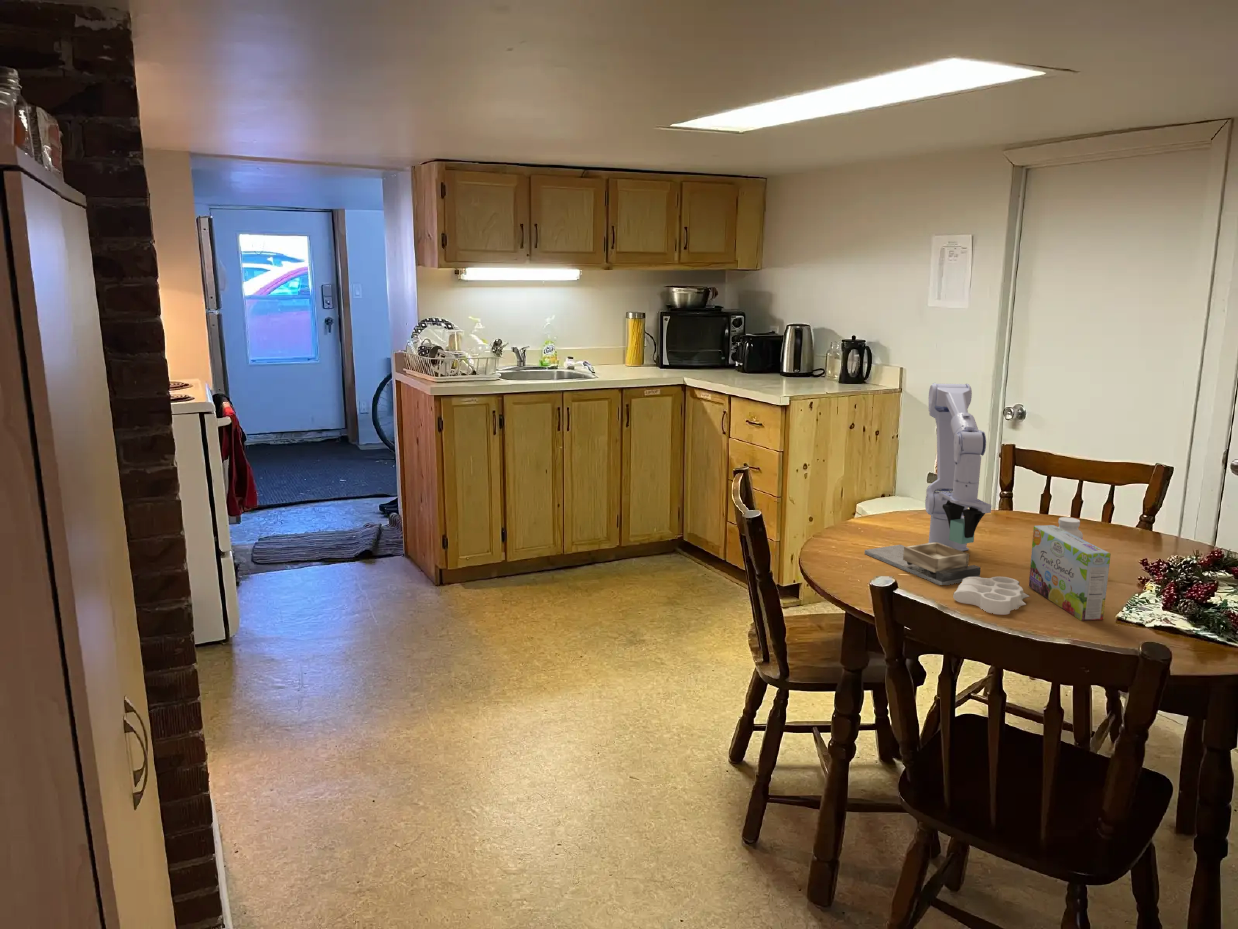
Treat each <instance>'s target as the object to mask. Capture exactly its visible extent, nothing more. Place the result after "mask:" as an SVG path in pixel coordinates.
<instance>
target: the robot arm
mask: <svg viewBox="0 0 1238 929" xmlns="http://www.w3.org/2000/svg"><path fill="white" fill-rule="evenodd" d="M928 390H929V391H928V412H929V416H930V417H932V418H933V419H934V420H935V426H936V463H937V464H936V465H937V467H936V468H937V470H936V471H937V476H936V477H937V479H936V480H934V481H933V482H932V483H930V484H928V486H927V488H926V490H925V491H926V492H925V500H924V501H925V502H924V503H925V504H924V505H925V511H926V513H927V514H928V515H930V523H929V534H928V535H929V536H928V542H927V543H934V542H938V543H941V544H943V545H946V546H949V547H952V548H954V549H957V550H960V551H963V552H965V551H969V547H967V544H968V543H966V544H959V543H957V542H954V541H951V540H949V534H950V522H951V520H956V519H964V522H965V528H964V535H965V538H971V537H973V535H974V536H975V533H976V530H977V528H978V525H979V523H980V522H981V520H982V519H983V517H984V516H985V514H990V513H992V504H990V503H987V502H985V501H983V500H981V499H979V498H978V495H979V485H980V475H981V465H982V464H981V463H982V457H983V456H984V455H985V453H986V450H987V437H986V436H987V435H986V432H985V431H983V430H981V429H979V427H978V425H977V422H976V419H975V417H974V415H973V414H971V413H969V406H970V405H971V402H972V397H973V392H972V387H971V386H970V384H969V383H936V382H933V383H932V384H931V385H930V387H929V389H928ZM974 532H975V533H974ZM927 543H925V544H927Z"/></svg>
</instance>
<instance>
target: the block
mask: <svg viewBox="0 0 1238 929" xmlns="http://www.w3.org/2000/svg"><path fill="white" fill-rule="evenodd" d="M964 528H965V522H964V519H956V520H951V522H950V534H949V540H951V541H954V542H957V543H959V544H966V543H967V544H972V543H975V533H976V531H975V532H974V535H973V537H971V538H965V535H964Z"/></svg>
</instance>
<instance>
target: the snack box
mask: <svg viewBox="0 0 1238 929" xmlns="http://www.w3.org/2000/svg"><path fill="white" fill-rule="evenodd" d="M1058 527H1059V526H1057V525H1052V524H1049V525H1034V526H1033V532H1032V546H1031V555H1030V567H1029V568H1030V569H1029V578H1028V579H1029V580H1028V588H1031V589H1032V590H1034V591H1035V592H1036V593H1039V595H1041V596H1043V597H1044V598H1046V599H1047V600H1049V601H1050V602H1052V603H1053V604H1055V605H1056V606H1058V607H1059V608H1060V609H1063V610H1064V611H1066V612H1067V613H1069V614H1070V615H1071V616H1073V617H1075V618H1076V619H1078V620H1079V621H1081V622H1084V621H1100V620H1101V621H1103V620H1104V616H1105V615H1104V614H1105V606H1106V597H1107V588H1108V579H1109V571H1110V562H1111V553H1110V552H1109V551H1107V550H1105V549H1102V548H1100V547H1099V546H1096V545H1094V544H1092V543H1090V542H1088V541H1087V540H1084V539H1080V538H1078V537H1077V536H1074V535H1072V534H1070V533H1069V532H1067V531H1064V530H1062V529H1060V528H1058Z"/></svg>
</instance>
